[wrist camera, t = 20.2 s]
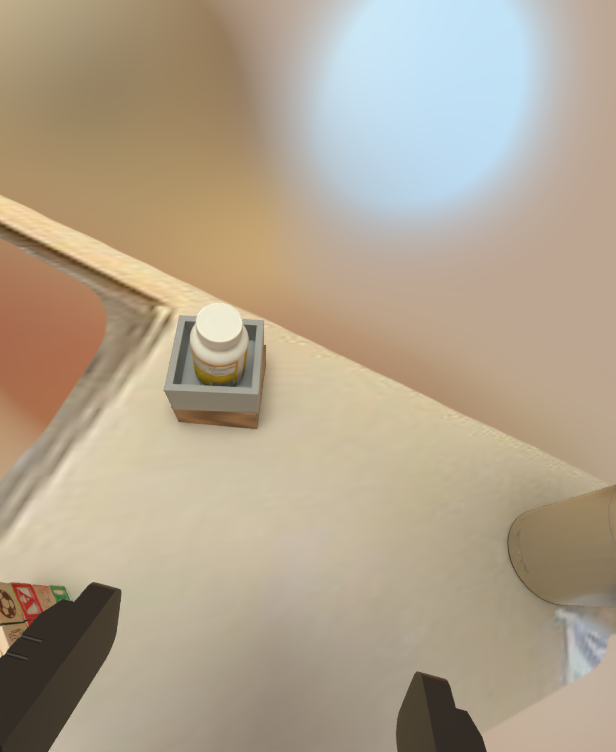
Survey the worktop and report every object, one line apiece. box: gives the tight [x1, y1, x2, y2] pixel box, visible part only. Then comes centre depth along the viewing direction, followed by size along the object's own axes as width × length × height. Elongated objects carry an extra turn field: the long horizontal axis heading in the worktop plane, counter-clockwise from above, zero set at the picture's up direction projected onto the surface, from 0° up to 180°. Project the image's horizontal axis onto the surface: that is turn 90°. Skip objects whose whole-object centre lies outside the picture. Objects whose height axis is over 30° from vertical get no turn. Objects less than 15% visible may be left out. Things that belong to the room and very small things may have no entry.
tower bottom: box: [171, 345, 266, 429], centre depth 46 cm, size 9×9×4 cm
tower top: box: [164, 315, 264, 413], centre depth 42 cm, size 9×9×4 cm
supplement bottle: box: [190, 303, 249, 387], centre depth 38 cm, size 5×5×10 cm
